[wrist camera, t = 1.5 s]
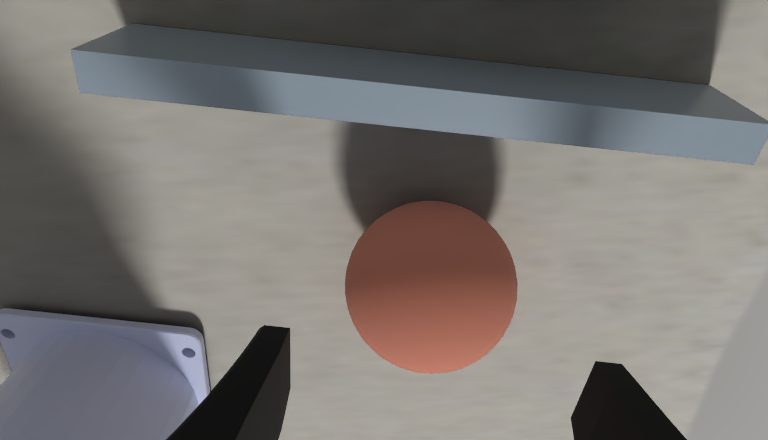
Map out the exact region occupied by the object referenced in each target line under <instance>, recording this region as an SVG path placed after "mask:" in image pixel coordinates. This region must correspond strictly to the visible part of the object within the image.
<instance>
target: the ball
mask: <svg viewBox="0 0 768 440" xmlns="http://www.w3.org/2000/svg"><path fill="white" fill-rule="evenodd" d="M345 294H346V301H347V306H348V310H349V313H350V316H351V318H352V321H353V324H354V325H355V327H356V329H357V331H358V332H359V334H360V336H361V337H362V338H363V340H364V341H365V342H366V343H367V344H368V345H369V346H370V347H371V348H372V349H373V350H374V351H375V352H376V353H377V354H378V355H379V356H381V357H382V358H384V359H385V360H387V361H388V362H390V363H392V364H394V365H396V366H398V367H400V368H403V369H406V370H409V371H413V372H419V373H430V374H433V373H446V372H451V371H455V370H458V369H461V368H464V367H466V366H469V365H471V364H472V363H474V362H476V361H477V360H479V359H481V358H482V357H483V356H485V355H486V354H487V353H488V352H489V351H490V350H491V349H493V348H494V346H495V345H496V344H497V343H498V342H499V340H500V339H501V338H502V337H503V335H504V333H505V331H506V330H507V328H508V326H509V324H510V322H511V319H512V317H513V313H514V310H515V305H516V301H517V277H516V271H515V266H514V263H513V260H512V257H511V254H510V252H509V250H508V248H507V246H506V244H505V243H504V241H503V240H502V238H501V237H500V235H499V234H498V233H497V231H496V230H495V229H494V228H493V227H492V226H491V225H490V224H489V223H488V222H486V221H485V220H484V219H483V218H481V217H480V216H479V215H477V214H476V213H474V212H472V211H470V210H468V209H466V208H464V207H461V206H459V205H455V204H452V203H448V202H442V201H418V202H413V203H408V204H405V205H402V206H399V207H397V208H395V209H393V210H390V211H389V212H387V213H385V214H384V215H382V216H381V217H379V218H378V219H377V220H376V221H374V222H373V223H372V224H371V225H370V226H369V227H368V228H367V230H366V231H365V232H364V233H363V234H362V236H361V237H360V238H359V240H358V242H357V243H356V245H355V247H354V249H353V251H352V253H351V256H350V260H349V263H348V266H347V271H346V279H345Z"/></svg>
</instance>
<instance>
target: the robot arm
mask: <svg viewBox="0 0 768 440" xmlns="http://www.w3.org/2000/svg"><path fill="white" fill-rule="evenodd" d="M0 343H1V345H2V348H3V350H4V353H5V355H6V358H7V360H8V362H9V365H10V367H11V370H12V373H11V374H10V375H9V376H8V377H7V378H6V380H5V381H4V382H3V383H2V384H1V385H0V440H278V438H279V435H280V432H281V429H282V424H283V420H284V415H285V410H286V406H287V401H288V396H289V391H290V328H284V327H275V326H266V325H264V326H263V327H261V328H260V329H259V330H258V332H257V333H256V335H255V336H254V337H253V339H252V340H251V342H250V343H249V344H248V346H247V347H246V349H245V350H244V351H243V353H242V354H241V355H240V357H239V358H238V359H237V360H236V362H235V363H234V364H233V366H232V367H231V368H230V369H229V371H228V372H227V373H226V374H225V375H224V377H223V378H222V379H221V380H220V381H219V382H218V384H217V385H216V386H215V387H214V388H213V390H212V391H211V392H210V387H209V379H208V370H207V362H206V354H205V346H204V338H203V336H202V334H201V333H200V332H199V331H198V330H196V329H194V328H190V327H181V326H171V325H162V324H152V323H143V322H133V321H124V320H114V319H105V318H95V317H86V316H76V315H67V314H57V313H48V312H38V311H29V310H19V309H10V308H2V309H0ZM189 348H190V349H189ZM191 349H192V350H191ZM571 422H572V428H573V434H574V440H687V439H686V438H685V437H684V436H683V435H682V434H681V433H680V431H679V430H678V429H677V428H676V427H675V426H674V425H673V423H672V422H671V421H670V420H669V419H668V418H667V417H666V415H665V414H664V413H663V412H662V411H661V410H660V408H659V407H658V406H657V405H656V404H655V403H654V401H653V400H652V399H651V398H650V397H649V395H648V394H647V393H646V392H645V391H644V390H643V388H642V387H641V386H640V385H639V384H638V382H637V381H636V380H635V379H634V378H633V377H632V375H631V374H630V373H629V372H628V371H627V370H626V369H625V367H624V366H623V365H622V364H616V363H607V362H597V361H596V362H595V364H594V366H593V368H592V371H591V373H590V375H589V378H588V380H587V382H586V384H585V387H584V389H583V391H582V394H581V396H580V398H579V401H578V403H577V405H576V407H575V410H574V412H573V414H572V417H571Z"/></svg>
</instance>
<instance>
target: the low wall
mask: <svg viewBox="0 0 768 440" xmlns="http://www.w3.org/2000/svg"><path fill="white" fill-rule="evenodd" d="M71 55H72V59H73V64H74V68H75V73H76V77H77V82H78V86H79V91H80V93H85V94H95V95H104V96H113V97H123V98H132V99H141V100H151V101H160V102H170V103H179V104H188V105H198V106H207V107H216V108H226V109H235V110H245V111H254V112H263V113H273V114H282V115H291V116H301V117H310V118H320V119H329V120H338V121H348V122H357V123H366V124H376V125H385V126H395V127H404V128H413V129H423V130H432V131H441V132H451V133H460V134H470V135H479V136H488V137H498V138H507V139H516V140H526V141H535V142H545V143H554V144H563V145H573V146H582V147H591V148H601V149H610V150H620V151H629V152H638V153H648V154H657V155H666V156H676V157H685V158H695V159H704V160H713V161H723V162H732V163H741V164H751V165H754V163H755V161H756V160H757V158H758V156H759V154H760V152H761V150H762V148H763V146H764V144H765V142H766V140H767V138H768V121H767V120H765V119H764V118H762V117H761V116H759V115H757V114H756V113H754V112H753V111H751V110H749V109H748V108H746V107H744V106H743V105H741V104H740V103H738V102H736V101H735V100H733V99H731V98H730V97H728V96H727V95H725V94H723V93H722V92H720V91H718V90H717V89H715V88H714V87H712V86H710V85H702V84H693V83H683V82H674V81H665V80H655V79H646V78H637V77H627V76H618V75H609V74H599V73H590V72H581V71H571V70H562V69H553V68H543V67H534V66H525V65H515V64H506V63H497V62H487V61H478V60H469V59H459V58H450V57H441V56H431V55H422V54H413V53H403V52H394V51H385V50H375V49H366V48H357V47H347V46H338V45H329V44H319V43H310V42H301V41H291V40H282V39H273V38H263V37H254V36H245V35H235V34H226V33H217V32H207V31H198V30H189V29H179V28H170V27H161V26H151V25H142V24H133V23H132V24H130V25H128V26H125V27H123V28H121V29H118V30H116V31H113V32H111V33H109V34H106V35H104V36H102V37H99V38H97V39H95V40H92V41H90V42H87V43H85V44H83V45H80V46H78V47H76V48H73V49H71Z"/></svg>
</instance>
